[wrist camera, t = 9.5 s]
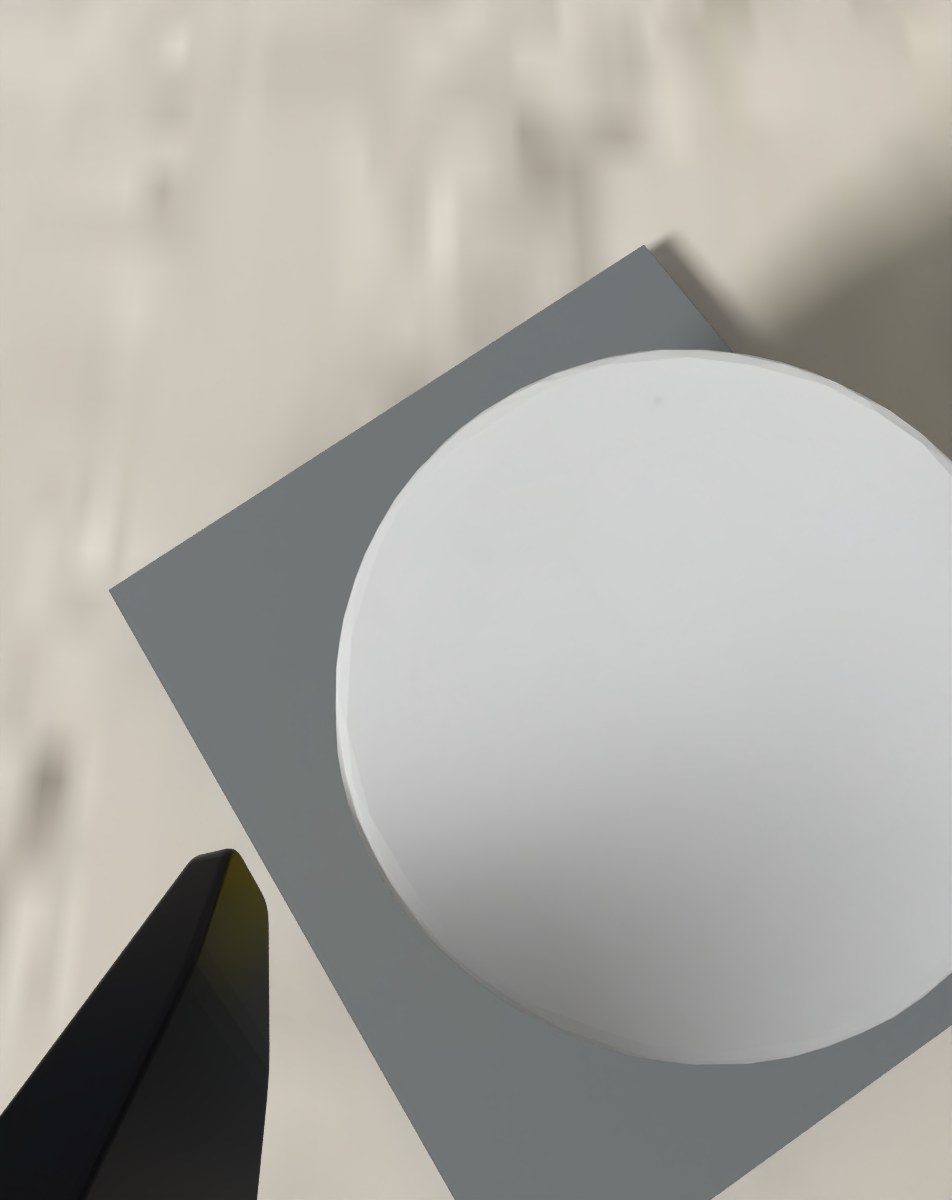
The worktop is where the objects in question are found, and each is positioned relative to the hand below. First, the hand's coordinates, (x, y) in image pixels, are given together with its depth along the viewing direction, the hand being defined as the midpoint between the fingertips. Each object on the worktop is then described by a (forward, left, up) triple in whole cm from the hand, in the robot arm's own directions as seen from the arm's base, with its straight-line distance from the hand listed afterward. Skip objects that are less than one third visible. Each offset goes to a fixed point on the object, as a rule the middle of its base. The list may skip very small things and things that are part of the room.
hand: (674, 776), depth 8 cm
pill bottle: (+1, 0, -8) cm, 8 cm away
